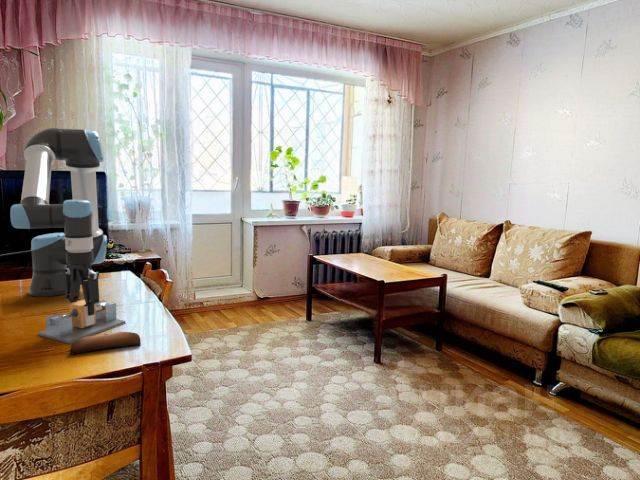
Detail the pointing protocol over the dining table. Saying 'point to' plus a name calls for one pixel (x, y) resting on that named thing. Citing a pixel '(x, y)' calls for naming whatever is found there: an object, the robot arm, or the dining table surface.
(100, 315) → the shaft stands
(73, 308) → the coupler
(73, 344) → the sunglasses case
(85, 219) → the robot arm
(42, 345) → the dining table surface
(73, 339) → the board
